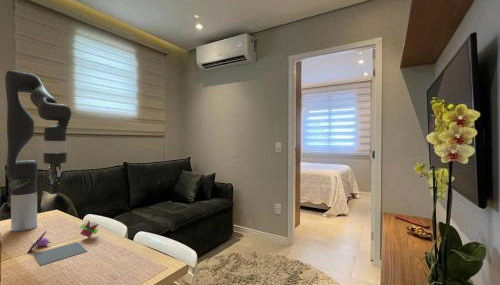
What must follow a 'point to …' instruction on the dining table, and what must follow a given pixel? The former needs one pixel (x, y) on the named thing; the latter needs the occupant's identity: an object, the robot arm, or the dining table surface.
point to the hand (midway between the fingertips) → (55, 192)
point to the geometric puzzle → (89, 228)
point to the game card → (40, 242)
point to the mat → (59, 253)
